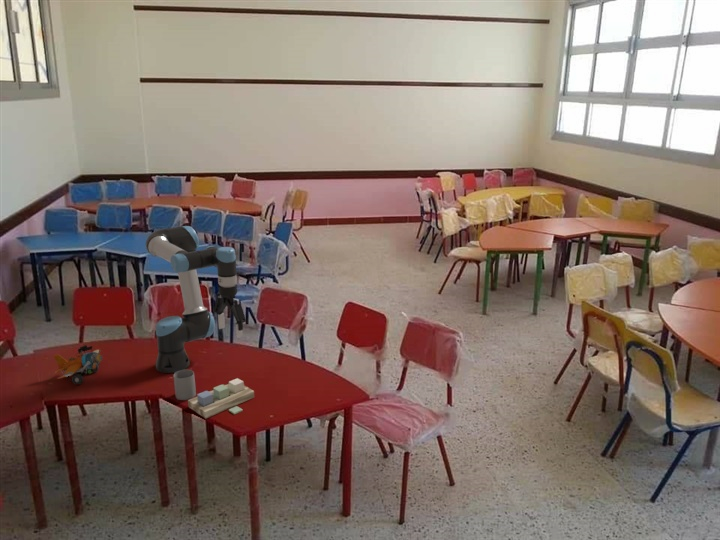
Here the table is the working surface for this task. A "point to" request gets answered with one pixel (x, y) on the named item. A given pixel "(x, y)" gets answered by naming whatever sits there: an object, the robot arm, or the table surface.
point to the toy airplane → (79, 364)
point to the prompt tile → (235, 410)
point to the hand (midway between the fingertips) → (230, 332)
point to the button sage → (221, 392)
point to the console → (221, 402)
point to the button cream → (236, 386)
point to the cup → (184, 384)
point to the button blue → (205, 398)
